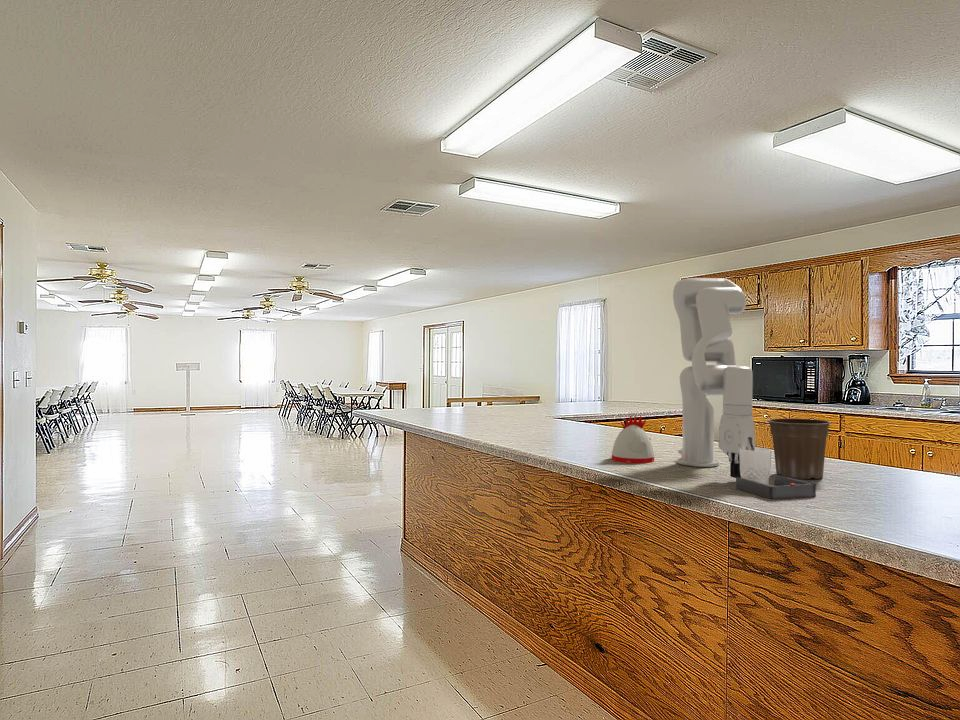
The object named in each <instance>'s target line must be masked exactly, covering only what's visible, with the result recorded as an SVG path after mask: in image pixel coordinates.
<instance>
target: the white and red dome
mask: <svg viewBox="0 0 960 720" xmlns="http://www.w3.org/2000/svg"><path fill="white" fill-rule="evenodd" d="M624 420H625V425H624V423H623V422H622V421H620V424H621V426H622V428H623V429H621V431H619V433H618V435H617V436H616V438H615V440H614V443H613V446H612V451H611V460H612V461H614V462H617V463H622V464H623V463H624V464H649V463H651V464H652V463H654V462H655V451H654V447H653V444H652V442H651V441H652V439H651V437H649V435H648V434H647V433H646V431H645V430H644V429H643V428H644V426H645V425H646V421H647V420H646V419H644V420H643V418H642V415H640V416H639V419H638V418H637V416H636V415H634V419H633V416H632V415H629V420H628V419H627V418H625V419H624Z"/></svg>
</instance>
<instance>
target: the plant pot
mask: <svg viewBox="0 0 960 720" xmlns="http://www.w3.org/2000/svg"><path fill="white" fill-rule="evenodd" d="M767 422H768V423H769V427H770V435H772V446H773V455H774V463H775V465H774V466H775V473H776V474H775V475H780V476H785V477H789V478H793V479H797V480H810V479H814V480H818V479H819V480H820V479H822V478H823V477H824V469H825V468H824V467H825V458H826V456H825V455H826V446H827V438H828V436H829V428H830V425H831V424H832V422H831V421H829V420H824V419H814V418H789V417H788V418H787V417H786V418H771V419H768V420H767Z"/></svg>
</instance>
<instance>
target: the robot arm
mask: <svg viewBox="0 0 960 720" xmlns="http://www.w3.org/2000/svg"><path fill="white" fill-rule="evenodd" d="M672 292H673V293H672V299H673V306H674V309H675V311H676V315H677V317H678V320H679V329H680V330H679V331H680V340H681V343H680V344H681V353H682V356H683V358H684V360H685V361H686V362H690V363H691V366H688V367H687V366H686V367H684V368H683V369H682V370H681V371H680V375H679V385H680V392H681V399H682V400H681V401H682V447H681V449H678V450H677V452H678V454H680V455H681V457H679V458H677V464H679V465H682V466H686V467H687V466H689V467H696V468H697V467H698V468H699V467H700V468H711V467H717V466H719V465H720V461H719V460H717V459H714V457H715V455H714V453H715V451H714V450H715V449H714V447H715V446H714V445H715V443H714V442H715V438H714V437H715V432H714V431H715V430H714V429H715V411H714V407H713V405H712V403H711V402H710V401H709V399H708V398H707V396H722V414H721V416H720V420H719V425H718V426H719V429H718V441H717V443H718V448H719V449H720V450H721V451H722V453H723V454H725V455H726V456H727V458H728V462H729V464H730V465H729V466H730V468H729V470H730V475H729V476H730V477H731V478H734V479H736V477H741V475H740V461H739V448H740V449H742V450H749V451H752V450H753V451H754V450H755V447H756V432H755V429H756V428H755V422H754V417H753V385H754V383H753V380H754V379H753V369H752V368H751V367H749V366H744V365H743V366H741V365H736V355H735V346H734V342H733V340H732V338H731V336H732V335H733V328H732V325H731V319H730V316H731V315H736V316H737V315H741V314H743V312H744V311H745V310H746V306H747V299H746V295H745V293H744V291H743V290H742V288H741V287H739V286H738V285H737V284H735V283H734V282H732V280H730V279H727V278H725V277H724V278H722V277H718V278H717V277H715V278H714V277H688V278H682V279H680V280H679V281H676V283H675V284H674V287H673V290H672ZM729 315H730V316H729ZM707 363H715V364H707ZM751 447H752V450H751Z"/></svg>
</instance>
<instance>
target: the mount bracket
mask: <svg viewBox="0 0 960 720" xmlns="http://www.w3.org/2000/svg"><path fill="white" fill-rule="evenodd" d="M816 487H817V484H816V483H812V482H809V481H808V482H807V481H804V480H802V479H793V478H789V477H785V476H780V475H777V474H774V475H773V485H770V484H769V485H767V484H763V483H760V482H756V481H752V480H749V479H745V478H741V477H736V478H735V489H737V490H740V491H743V492H745V493H749V494H753V495H756V496H760V497H763V498H766V499H769V500H783V499H797V498H809V497H811V498H812V497H816V496H817V490H816V489H817V488H816Z"/></svg>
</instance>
